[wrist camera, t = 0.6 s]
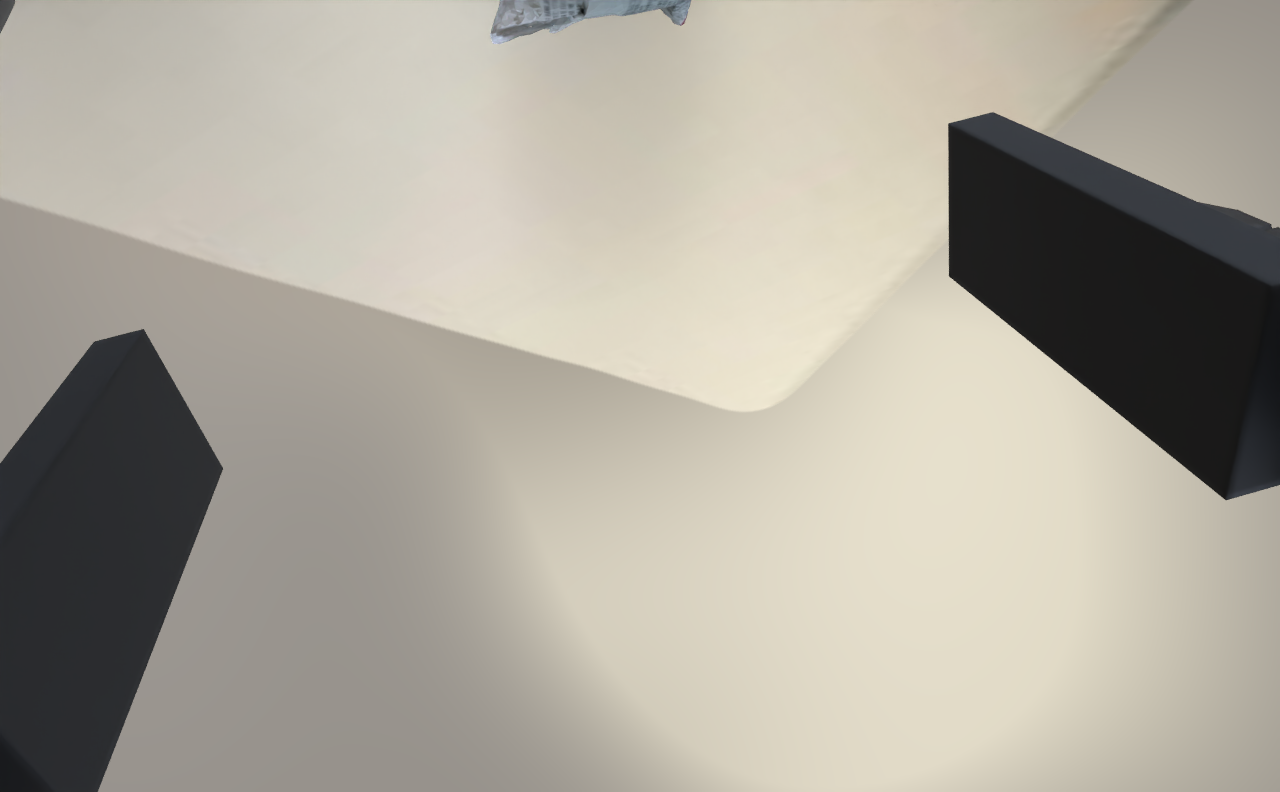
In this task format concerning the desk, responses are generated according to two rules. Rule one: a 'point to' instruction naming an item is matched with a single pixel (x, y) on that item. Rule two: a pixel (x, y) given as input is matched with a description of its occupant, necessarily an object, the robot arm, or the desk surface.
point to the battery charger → (5, 11)
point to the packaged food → (571, 14)
